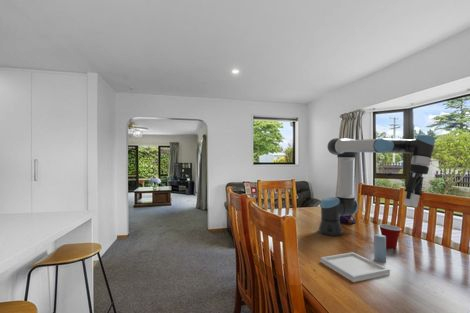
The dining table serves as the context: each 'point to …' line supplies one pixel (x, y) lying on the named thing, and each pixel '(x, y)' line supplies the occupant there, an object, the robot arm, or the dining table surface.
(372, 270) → the tray
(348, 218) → the decorative bottle
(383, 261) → the dowel pin
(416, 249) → the dining table surface
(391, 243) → the plastic cup
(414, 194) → the robot arm
